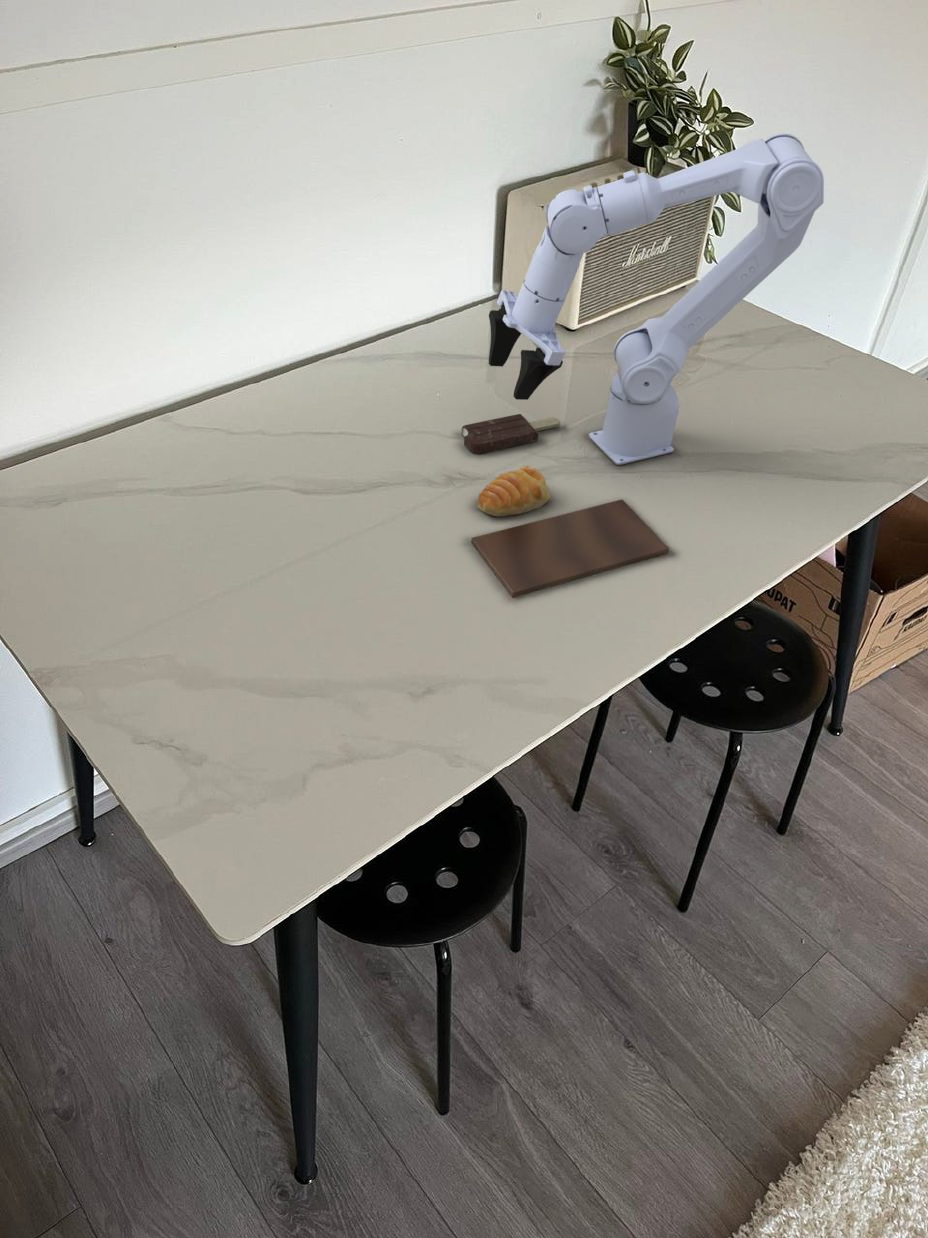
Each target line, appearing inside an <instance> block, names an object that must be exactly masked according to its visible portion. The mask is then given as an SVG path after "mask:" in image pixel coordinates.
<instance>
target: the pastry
mask: <svg viewBox="0 0 928 1238" xmlns="http://www.w3.org/2000/svg"><path fill="white" fill-rule="evenodd" d="M550 499H551V493H550V491H549V486H548V485H547V482H546V479H545V476H544V475H543V474H542V473H541V472H540V471H539V470H538V469H537V468H535V467H529V466H528V465H524V466H521V467H519V468H518V469H515V470H509V471H507V472H504V473H500V474H499V475H498V476H497V477H495V479H493V480H492V481H491V482H490V483H488V484H487V485H486V487H485V488H483V489H482V491H481V492H480V493H479V494H478V501H477V508H478V509H479V510H480V511H482V512H483V513H485V514H487V515H490V516H493V517H497V518H499V517H502V518H503V517H506V516H516V515H517V516H518V515H521V514H526V513H529V512H531V511H532V510H534V509H540V508H542V507H543V506H544V505H545V504H546V503H547V502H548V501H550Z"/></svg>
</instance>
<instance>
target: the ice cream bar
mask: <svg viewBox="0 0 928 1238" xmlns="http://www.w3.org/2000/svg"><path fill="white" fill-rule="evenodd" d="M560 424H561V420H560V419H559V418H557V417H549V418H544V419H538V420H535V421H530V422H529V421H528V420H527V419H526V417H524V416H523V414H522V413H518V414H517V413H516V414H512V415H507V416H503V417H498V418H493V419H488V420H483V421H478V422H474V423H468V424H465V425H463V426H462V427H461V435H462V437H463V439H464V441H463V446H464V447H465V448H466V449H467V450H468V451H469V452H470V453H471V454H474V455H482V454H486V453H492V452H495V451H500V450H505V449H509V448H514V447H519V446H523V445H524V446H525V445H528V444H533V443H536V442H537V441H538V439H539V432H538V431H542V430H546V429H552V428H557V427H559V426H560Z"/></svg>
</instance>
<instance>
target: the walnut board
mask: <svg viewBox="0 0 928 1238" xmlns="http://www.w3.org/2000/svg"><path fill="white" fill-rule="evenodd" d="M470 543H471V544H472V546H473V547H474V549H475V550H476V551H477V552H478V554H479V556H481V558H482V559H483V560H484V562H485V564H486V565H487V566H488V567H489V569H490V570H491V571H492V572H493V574H494V575H495V576H496V578H497V579H498V580H499V582H500V583H501V584H502V586H503V587H504V588H505V590H506V591H507V592H508V593H509V595H510V597H512V598H515V597H518V596H522V595H525V594H529V593H532V592H536V591H539V590H543V589H547V588H551V587H553V586H557V585H561V584H564V583H569V582H572V581H575V580H578V579H581V578H586V577H589V576H592V575H597V574H600V573H603V572H607V571H610V570H614V569H617V568H622V567H625V566H627V565H632V564H635V563H638V562H639V563H640V562H642V561H646V560H649V559H653V558H656V557H659V556H663V555H666V554H669V551H670V547H669V546H667V544H666V543H665V542H664V541H663V540H662V539H661V537H659V536H658V534H656V533H655V531H654V530H653V529H651V528H650V527H649V526H648V524H647V523H646V522H645V521H644V520H643V519H642V518H641V517H640V516H639V515H638V514H637V513H636V511H634V510H633V508H632V507H631V506H629V505H628V503H626V501H624V499H618V500H613V501H611V502H606V503H603V504H599V505H595V506H591V507H590V506H589V507H587V508H582V509H579V510H575V511H571V512H567V513H563V514H559V515H556V516H551V517H547V518H543V519H540V520H536V521H531V522H528V523H525V524H524V523H523V524H521V525H517V526H512V527H509V528H505V529H501V530H496V531H493V532H489V533H485V534H481V535H477V536H473V537H471V541H470Z"/></svg>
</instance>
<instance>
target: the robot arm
mask: <svg viewBox="0 0 928 1238" xmlns="http://www.w3.org/2000/svg"><path fill="white" fill-rule="evenodd" d="M622 176H623V178H620V179H618V180H617V179H616V180H614V181H610V182H608V183H607V182H606V183H604V184H601V185H598V186H595V187H593V186H592V184H590V185H586V186H584V187H583V188H582V189H583V191H582V190H577V189H566V190H564V191H561V192H559V193H558V194H556V195H555V198H552V200H551V201H550V202H547V204H546V207H545V220H546V223H547V225H548V226H545V227H544V230H543V233H542V235H541V236H540V241H539V243H538V245H537V246H536V248H535V251H534V253H533V256H532V258H531V261H530V264H529V266H528V268H527V271H526V274H525V275H524V279H523V282H522V284H521V287H520V290H519V293H518V294H516V293H515V291H514V290H503V289H502V290H501V291H500V293H499V295H498V298H497V301H496V305H497V306H499V308H498V310H496V309H492V310H490V311H489V313H488V319H489V325H490V345H489V353H488V365H489V366H490V367H504V366H505V364H506V363H507V361H508V359H509V358H510V355H511V353H512V352H513V351H512V350H513V349H514V347H515V344H516V343H517V341H518V340H519V338H520V336H521V335H523V336H524V337H526V338H527V339H528V340H529V341H531V342H532V344H533V345H534V346H535V347H536V348H535V350H534V349H533V350H531V349H521V351H520V366H519V367H520V369H519V374H518V377H517V380H516V384H515V386H514V390H513V398H514V399H515V400H518V401H519V400H520V401H521V400H522V401H528V400H529V399H530V397H531V396H532V395H533V393H534V392H535V391H536V390H537V389H538V388H539V386H540V385H541V384H542V383H543V382H544V381H545V380H546V379H547V378H548V377H549V376H550V375H552V374H553V373H555V372H556V371H557V370H559V369H560V368H562V366H563V363H564V361H563V358H564V356H565V355H566V352H565V351H564V349H563V348H562V345H561V343H560V340H559V337H558V334H557V331H556V328H555V325H556V323H557V321H558V317H559V316H560V313H561V311H562V308H563V306H564V303H565V301H566V299H567V296H568V293H569V291H570V289H571V287H572V284H573V282H574V280H575V277H576V274H577V272H578V271H579V268H580V263H581V261H582V259H583V257H584V254H585V253H588V252H589V251H590V250H591V249H592V248H594V246H595V245H597V242H598V241H599V240H601V239H603V238H606V237H610V236H613V235H616V234H619V233H623V232H626V231H629V230H633V229H637V228H639V227H642V226H643V227H644V226H646V225H650V224H652V223H655V222H656V221H657V220H658V218H659V216H660V215H661V213H662V212H663V211H664V210H665V209H668V208H670V207H675V206H679V205H683V204H687V203H691V202H696V201H699V200H703V199H706V198H711V197H716V196H719V195H723V194H724V195H725V194H728V193H734V194H736V195H738V196H740V197H742V198H744V199H747V200H749V201H750V202H753V203H756V204H757V223H756V226H755V227H754V228H753V229H752V230H751V231H750V232H749V233H748V234H747V235H745V237H744V238H743V239H742V240H740V242H738V243H737V244H736V245H735V246H734V247H733V248H732V249H731V250H730V251H729V252H728V253H727V254H726V255H725V256H724V257H723V258H722V259H720V261H719V262H717V263H716V265H714V266H713V267H712V269H710V270H709V271H708V272H707V273H706V274H705V275H704V276H703V277H702V278H701V279H700V280H699V281H698V282H697V283H696V284H695V285H694V286H693V287H692V288H690V290H689V291H687V292H686V293H685V294H684V295H683V296H682V297H681V298H680V299H679V300H678V301H677V302H676V303H675V304H674V305H673V306H672V307H671V308H670V309H669V310H667V311H666V312H665V313H664V314H663V316H659V317H651V318H648V319H647V320H645V322H644V323H642V324H641V325H640V326H639V327H637V328H634V329H632V330H629V331H626V332H625V333H623V334H622V335H621V336H620V337H619V338H618V339H617V341H616V342H615V345H614V348H613V359H614V362H615V363H616V364H617V369H618V370H617V371H616V373H615V375H614V376H613V378H612V379H611V381H610V386H609V392H608V397H607V404H606V410H605V414H604V421H603V426H602V429H601V430H597V431H592V432H590V433H589V434H588V437H589V439H590V440H591V441H592V442H593V443H594V444H595V445H596V446H597V447H598V448H599V449H600V450H601V451H602V452H603V453H604V454H605V455H606V456H607V457H608V458H609V459H610V460H611V461H612V462H613V463H614V464H615V465H616V466H622V465H625V464H629V463H633V462H638V461H642V460H647V459H650V458H654V457H658V456H663V455H667V454H670V453H673V452H674V447H673V446H672V442H673V437H674V432H675V427H676V423H677V419H678V415H679V407H680V406H679V398H678V394H677V392H676V390H675V388H674V386H673V385H672V384H671V383H672V381H673V380H674V379H675V377H676V376H677V375H678V374H679V373H680V372H681V371H682V369H683V367H684V364H685V360H686V358H687V355H688V353H689V350H690V349H691V348H692V347H693V346H694V345H695V344H696V343H697V342H698V341H699V340H701V338H703V336H704V335H705V334H707V333H708V332H709V331H710V330H711V329H712V328H713V327H714V326H716V325H717V324H718V323H719V321H721V320H722V319H723V318H725V316H726V315H728V313H730V312H731V311H732V310H733V309H734V308H735V307H736V306H737V305H738V304H739V303H740V302H741V301H742V300H743V299H745V298H746V297H747V296H748V295H749V294H751V292H752V291H753V290H754V289H755V288H756V287H758V286H759V285H760V284H761V283H762V282H763V281H764V280H765V279H766V278H768V277H769V276H770V275H771V274H773V272H774V271H775V270H776V269H777V268H778V267H779V266H780V265H782V264H783V263H784V262H785V261H786V260H787V259H788V258H789V257H790V256H791V255H792V254H793V253H795V252H796V251H797V249H798V248H799V247H800V246H801V244H802V242H803V240H804V238H805V235H806V233H807V230H808V229H809V226H810V224H811V222H812V219H813V217H814V215H815V212H816V211H817V210H818V209H819V208H820V207H821V206H822V205H823V204H824V201H825V199H824V197H825V195H824V194H825V191H824V190H825V179H824V174H823V171H822V168H821V167H820V166H819V165H818V164H817V163H816V162H815V161H813V159H812V158H811V156H810V155H809V154H808V152H807V151H806V150H805V147H804V145H803V143H802V141H801V140H800V139H799V138H798V137H797V136H795V135H793V134H791V133H785V132H781V133H776V134H773V135H770V136H768V137H767V138H765V139H764V138H758V139H752V140H750V141H748V142H747V143H745V144H743V145H741V146H740V147H738V148H736V149H734V150H731V151H728V152H726V153H722V154H720V155H717V156H714V157H712V158H709V159H707V160H704V161H701V162H699V163H696V164H694V165H690V166H688V167H685V168H683V169H681V170H677V171H675V172H672V173H669V174H667V175H664V176H661V177H659V178H657V177H654V176H653V175H651V174H648V173H646V172H644V171H643V172H639V173H637V174H636V173H635V170H634V169H632V170H629V171H626V172H623V173H622Z"/></svg>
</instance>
